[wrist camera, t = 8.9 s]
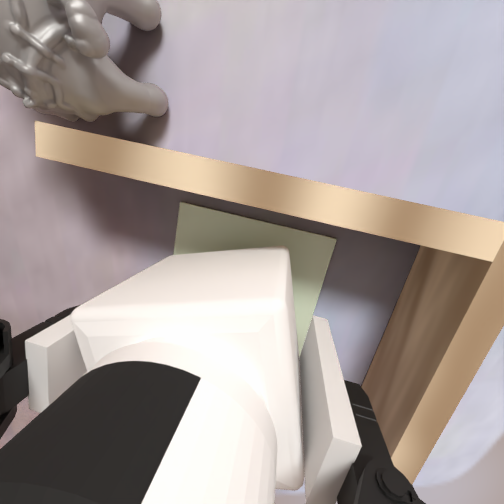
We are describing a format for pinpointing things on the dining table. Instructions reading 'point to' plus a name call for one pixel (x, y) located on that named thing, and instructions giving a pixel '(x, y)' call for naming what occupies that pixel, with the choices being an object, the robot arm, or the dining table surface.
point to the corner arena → (369, 221)
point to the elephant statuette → (73, 57)
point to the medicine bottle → (174, 391)
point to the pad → (254, 236)
